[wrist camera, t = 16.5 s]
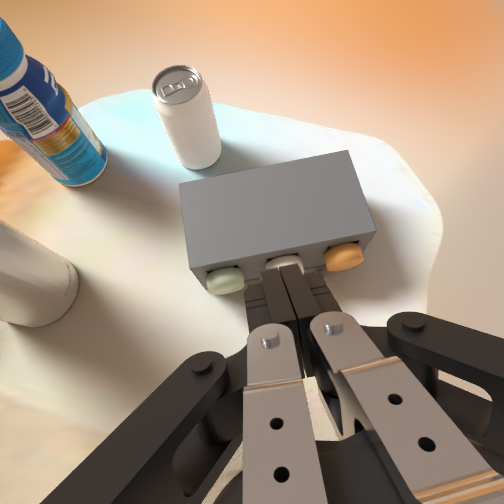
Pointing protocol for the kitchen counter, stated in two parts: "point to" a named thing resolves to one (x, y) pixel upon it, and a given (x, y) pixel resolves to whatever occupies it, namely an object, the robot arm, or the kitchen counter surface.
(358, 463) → the robot arm
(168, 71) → the can
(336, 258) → the button orange
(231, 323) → the kitchen counter surface
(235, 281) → the button green
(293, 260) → the button cream
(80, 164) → the beverage bottle
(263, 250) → the control box
